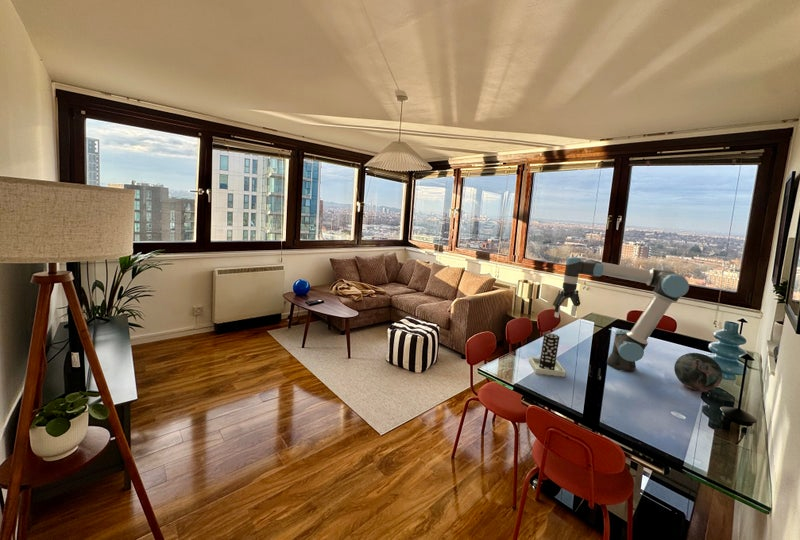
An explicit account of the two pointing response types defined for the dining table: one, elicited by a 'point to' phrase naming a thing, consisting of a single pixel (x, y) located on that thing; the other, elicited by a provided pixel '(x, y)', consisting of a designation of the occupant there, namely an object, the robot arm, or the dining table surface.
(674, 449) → the dining table surface
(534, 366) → the tray
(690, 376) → the decorative sphere
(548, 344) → the spotted tube
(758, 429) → the dining table surface
